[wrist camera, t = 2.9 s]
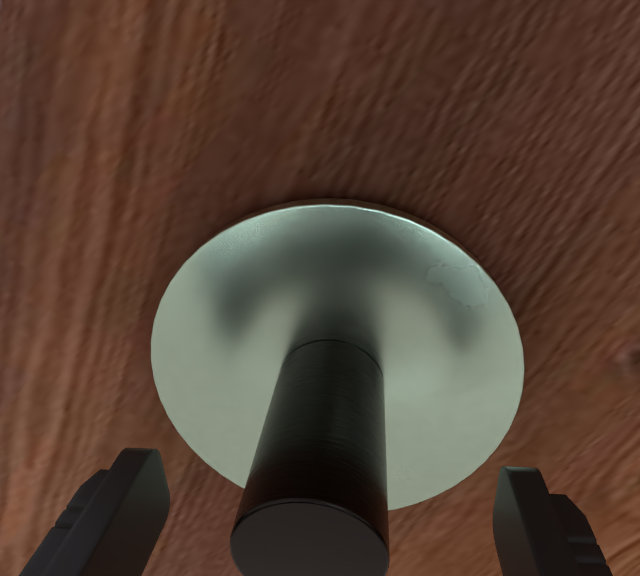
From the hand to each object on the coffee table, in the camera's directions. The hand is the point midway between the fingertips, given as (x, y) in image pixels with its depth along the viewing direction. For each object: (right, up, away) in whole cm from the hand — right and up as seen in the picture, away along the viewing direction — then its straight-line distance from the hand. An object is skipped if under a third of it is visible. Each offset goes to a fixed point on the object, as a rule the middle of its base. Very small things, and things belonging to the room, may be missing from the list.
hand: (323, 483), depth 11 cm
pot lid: (0, +2, +4) cm, 4 cm away
